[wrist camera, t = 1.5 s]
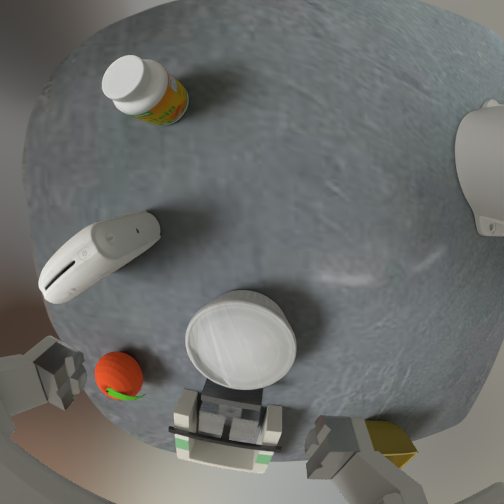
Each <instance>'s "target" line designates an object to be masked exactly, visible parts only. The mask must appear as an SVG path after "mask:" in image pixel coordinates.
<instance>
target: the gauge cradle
mask: <svg viewBox="0 0 504 504" xmlns="http://www.w3.org/2000/svg"><path fill="white" fill-rule="evenodd" d="M197 396H198V392H196V391H192V390H188V389H184V390H183V392H182V395H181V397H180V399H179V402H178V404H177V406H176V409H175V411H174V423H175V424H174V428H178V429H182V430H185V431H189V432H193V433H196V424H197ZM281 433H282V406H275V405H268V407H267V410H266V413H265V417H264V420H263V423H262V426H261V430H260V433H259V436H258V439H257V442H256V444H259V445H267V446H277V444H278V441H279V438H280V436H281ZM175 442H176V448H177V457H178V458H180V459H183V460H188V461H191V462H196V463H200V464H204V465H209V466H214V467H219V468H224V469H230V470H236V471H243V472H251V473H259V474H264V472H265V470H266V468H267V466H268V464H269V462H270V460H271V458H272V456H273V453H274V452H269V451H260V450H252V449H245V448H239V447H233V446H227V445H221V444H216V443H211V442H207V441H202V440H198V439H194V438H190V437H186V436H182V435H178V434H175Z"/></svg>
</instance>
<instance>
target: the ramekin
mask: <svg viewBox="0 0 504 504" xmlns="http://www.w3.org/2000/svg"><path fill="white" fill-rule="evenodd" d="M185 344H186V349H187V353H188V355H189V358H190V359H191V361H192V363H193V364H194V366H195V367H196V368H197V369H198V370H199V371H200V372H201V373H202V374H203V375H204V376H205V377H207V378H208V379H210V380H211V381H213V382H215V383H217V384H219V385H222V386H225V387H228V388H232V389H240V390H252V389H258V388H263V387H266V386H269V385H271V384H273V383H275V382H277V381H278V380H280V379H281V378H282V377H283V376H285V375H286V374H287V372H288V371H289V370H290V369H291V367H292V365H293V363H294V361H295V358H296V352H297V345H296V338H295V334H294V332H293V329H292V328H291V326H290V324H289V323H288V321H287V319H286V317H285V315H284V313H283V311H282V310H281V308H280V307H279V306H278V305H277V304H276V303H275V302H274V301H273V300H271V299H269V298H268V297H267V296H264V295H263V294H260V293H258V292H254V291H248V290H237V291H231V292H227V293H225V294H222V295H220V296H219V297H217V298H216V299H214V300H213V301H212V302H211V303H209V304H207V305H206V306H204V307H203V308H201V309H200V310H199V311H198V312H197V313H196V314H195V315H194V316H193V318H192V319H191V321H190V323H189V325H188V327H187V331H186V336H185Z"/></svg>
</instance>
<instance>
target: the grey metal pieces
mask: <svg viewBox="0 0 504 504" xmlns="http://www.w3.org/2000/svg"><path fill="white" fill-rule="evenodd" d="M262 393H263V388H258V389H252V390H240V389H232V388H228V387H225V386H222V385H219V384H217V383H215V382H213V381H211V380H210V379H208V378H207V380H206V382H205V385H204V388H203V391H202V394H201V400H202V401H203V402H202V405H201V408H200V411H199V431H202V432H207V433H211V434H216V435H221V438H216V437H211V436H206V435H202V434H198V433H193V432H189V431H185V430H182V429H178V428H174V427H171V426H169V432H171V433H175V434H178V435H182V436H186V437H190V438H194V439H198V440H202V441H207V442H211V443H216V444H221V445H227V446H233V447H239V448H245V449H252V450H260V451H269V452H280V451H281V447H278V446H267V445H259V444H251V443H244V442H238V441H232V440H229V437H232V438H238V439H245V440H252V441H253V440H254V437H255V433H256V430H257V427H258V423H259V416H260V409H261V405H262Z"/></svg>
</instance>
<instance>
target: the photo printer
mask: <svg viewBox="0 0 504 504" xmlns="http://www.w3.org/2000/svg"><path fill="white" fill-rule="evenodd" d="M160 238H161V236H160V225H159V222H158V221H157V219H156V218H155V217H154V216H153V215H152V214H150V213H147V211H146V210H142V211H137V212H133V213H129V214H125V215H121V216H117V217H113V218H109V219H106V220H102V221H99V222H96V223H93V224H91V225H89V226H87V227H86V228H84V229H82V230H81V231H80V232H78V233H77V234H76V235H74V236H73V237H72V238H71V239H70V240H68V241H67V242H66V243H65V244H64V245H63V246H62V247H61V248H60V249H59V250H58V251H57V252H56V253H55V254H54V255H53V256H52V257H51V258H50V260H49V261H48V262H47V263H46V265H45V266H44V268H43V270H42V272H41V275H40V278H39V289H40V290H41V291H42V292H43V295H44V298H45V299H46V300H47V301H49V302H51V303H54V304H59V303H65V302H67V301H69V300H71V299H72V298H75V297H76V296H77V295H78V294H80V293H81V292H83V291H84V290H86V289H87V288H89V287H90V286H92V285H93V284H95V283H97V282H98V281H100V280H101V279H103V278H105V277H106V276H108V275H109V274H111V273H113V272H114V271H116V270H118V269H119V268H121V267H122V266H124V265H125V264H127V263H128V262H130V261H131V260H133V259H134V258H136V257H137V256H139V255H140V254H142V253H143V252H144V251H146V250H147V249H148V248H150V247H151V246H153V245H154V244H155V243H156V242H157V241H158V240H159V239H160Z"/></svg>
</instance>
